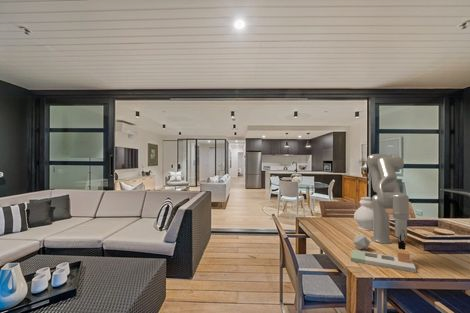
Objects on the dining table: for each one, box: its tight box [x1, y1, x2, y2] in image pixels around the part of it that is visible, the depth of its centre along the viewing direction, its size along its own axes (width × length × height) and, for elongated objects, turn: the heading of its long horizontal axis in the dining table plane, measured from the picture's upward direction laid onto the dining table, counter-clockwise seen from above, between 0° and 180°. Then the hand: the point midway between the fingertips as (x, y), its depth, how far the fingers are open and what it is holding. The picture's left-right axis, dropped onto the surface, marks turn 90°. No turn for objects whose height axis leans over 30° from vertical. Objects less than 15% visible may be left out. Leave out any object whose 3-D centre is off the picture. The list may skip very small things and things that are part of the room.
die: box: [352, 234, 371, 250], centre depth 151 cm, size 8×9×10 cm
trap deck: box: [350, 249, 417, 273], centre depth 131 cm, size 13×29×2 cm, turn 62°
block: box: [396, 249, 411, 263], centre depth 128 cm, size 5×5×4 cm
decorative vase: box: [353, 196, 373, 231], centre depth 195 cm, size 18×18×25 cm
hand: (401, 248), depth 135 cm, fingers closed
